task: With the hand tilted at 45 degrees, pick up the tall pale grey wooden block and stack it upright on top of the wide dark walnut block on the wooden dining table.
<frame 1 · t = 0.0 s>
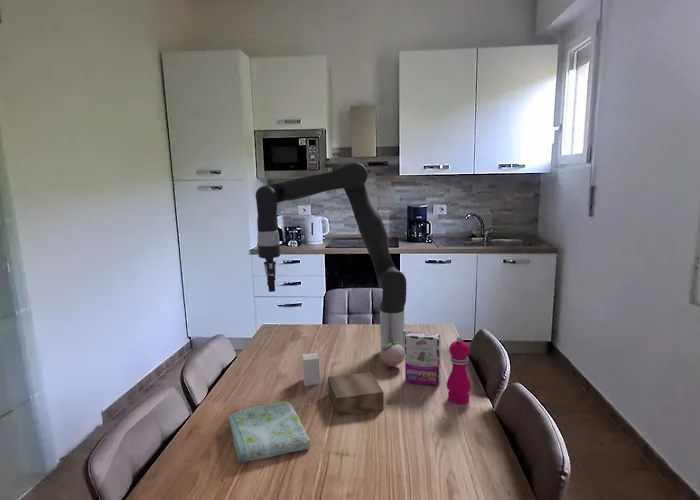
hand: (271, 288, 159), 29 cm above the table, tool pointing down, fingers open, 8 cm apart
towel: (267, 438, 120), on the table
walnut block: (355, 402, 138), on the table
candy bar box: (422, 381, 150), on the table
decorative fruit: (393, 368, 161), on the table
pale grey block: (311, 381, 151), on the table
pepper mill: (458, 399, 138), on the table
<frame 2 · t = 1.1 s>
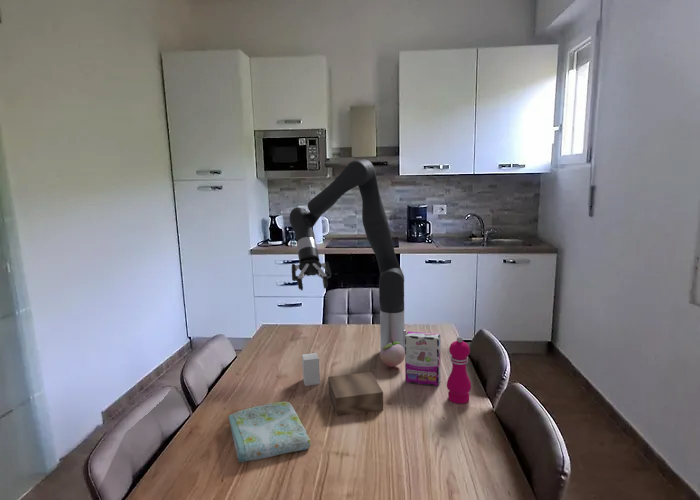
hand: (313, 288, 161), 28 cm above the table, tool tilted 45°, fingers open, 8 cm apart
nothing on the table moved.
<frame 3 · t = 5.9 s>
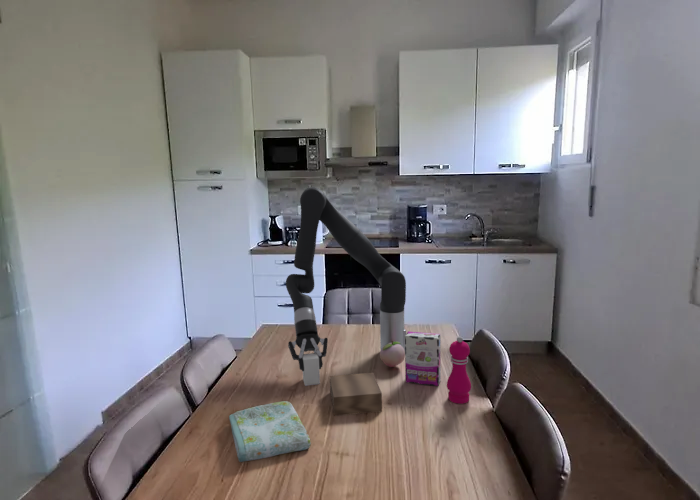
hand: (311, 369, 149), 5 cm above the table, tool tilted 45°, fingers closed on pale grey block, 5 cm apart
pale grey block: (311, 381, 151), on the table, touching gripper
everything else where it was.
when the fingers open (13 cm above the table, at t = 14.0 s): pale grey block drops 2 cm, resting on walnut block.
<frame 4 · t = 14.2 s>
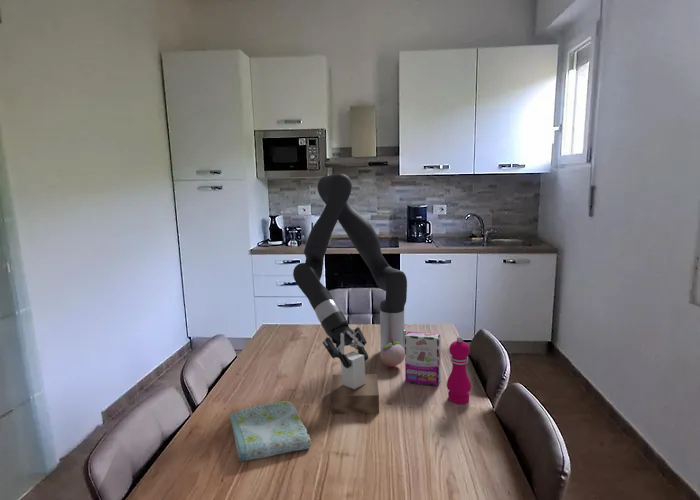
hand: (357, 363, 134), 13 cm above the table, tool tilted 45°, fingers open, 6 cm apart
walnut block: (355, 402, 138), on the table, touching pale grey block
pale grey block: (354, 384, 137), point 6 cm above the table, touching walnut block
everything else where it was.
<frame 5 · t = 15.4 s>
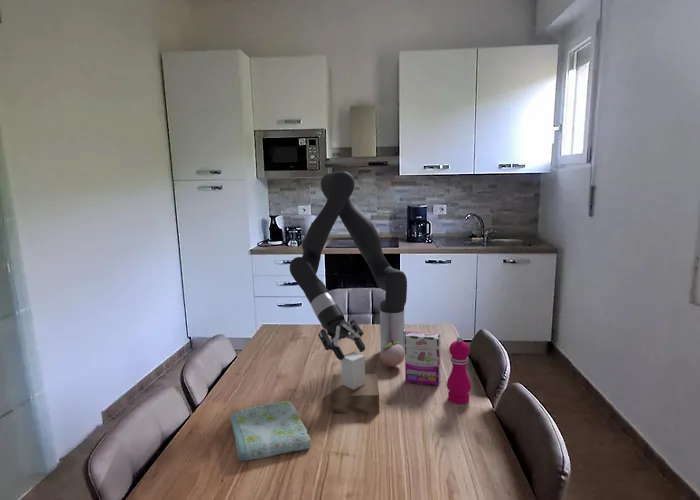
hand: (353, 354, 135), 15 cm above the table, tool tilted 45°, fingers open, 8 cm apart
walnut block: (355, 402, 138), on the table
pale grey block: (353, 384, 137), point 6 cm above the table
everything else where it was.
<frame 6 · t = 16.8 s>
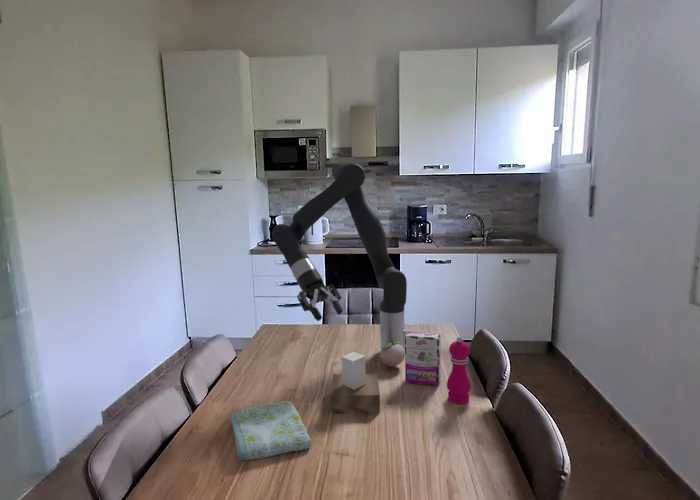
hand: (330, 316, 141), 25 cm above the table, tool tilted 45°, fingers open, 8 cm apart
walnut block: (355, 402, 138), on the table, touching pale grey block
pale grey block: (354, 384, 137), point 6 cm above the table, touching walnut block
everything else where it was.
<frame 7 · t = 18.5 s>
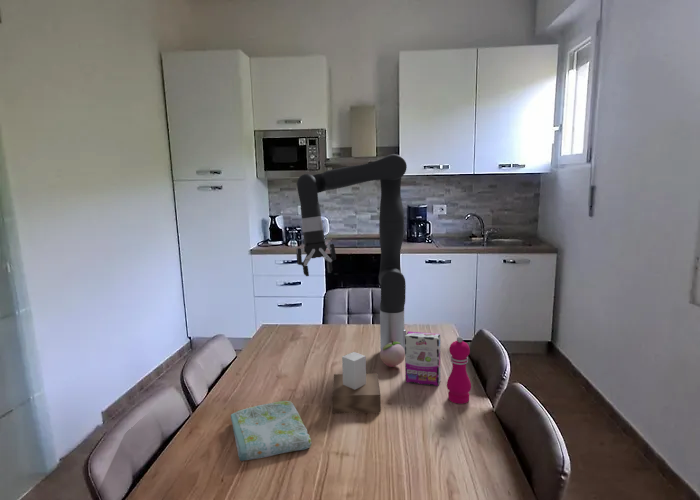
hand: (318, 274, 163), 33 cm above the table, tool pointing down, fingers open, 8 cm apart
nothing on the table moved.
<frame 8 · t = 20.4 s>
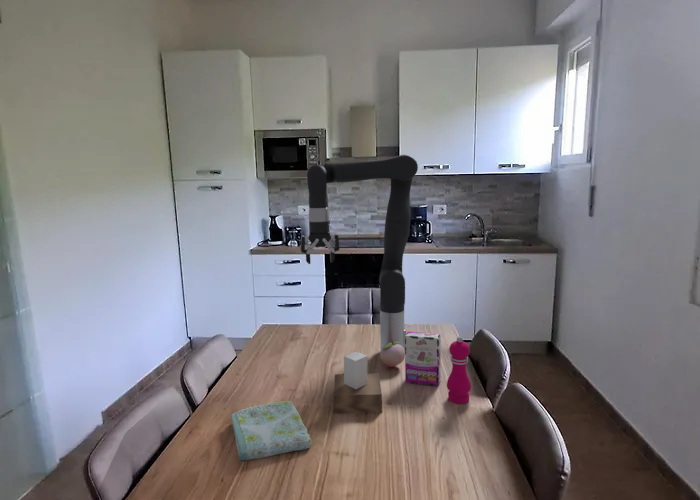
hand: (320, 262, 168), 36 cm above the table, tool pointing down, fingers open, 8 cm apart
walnut block: (357, 402, 138), on the table
pale grey block: (355, 383, 137), point 6 cm above the table
everything else where it was.
at the end: pale grey block inside the target area on the walnut block (0.4 cm from its centre), point 6.0 cm above the walnut block's base; pale grey block tilted 1°; the gripper is holding nothing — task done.
